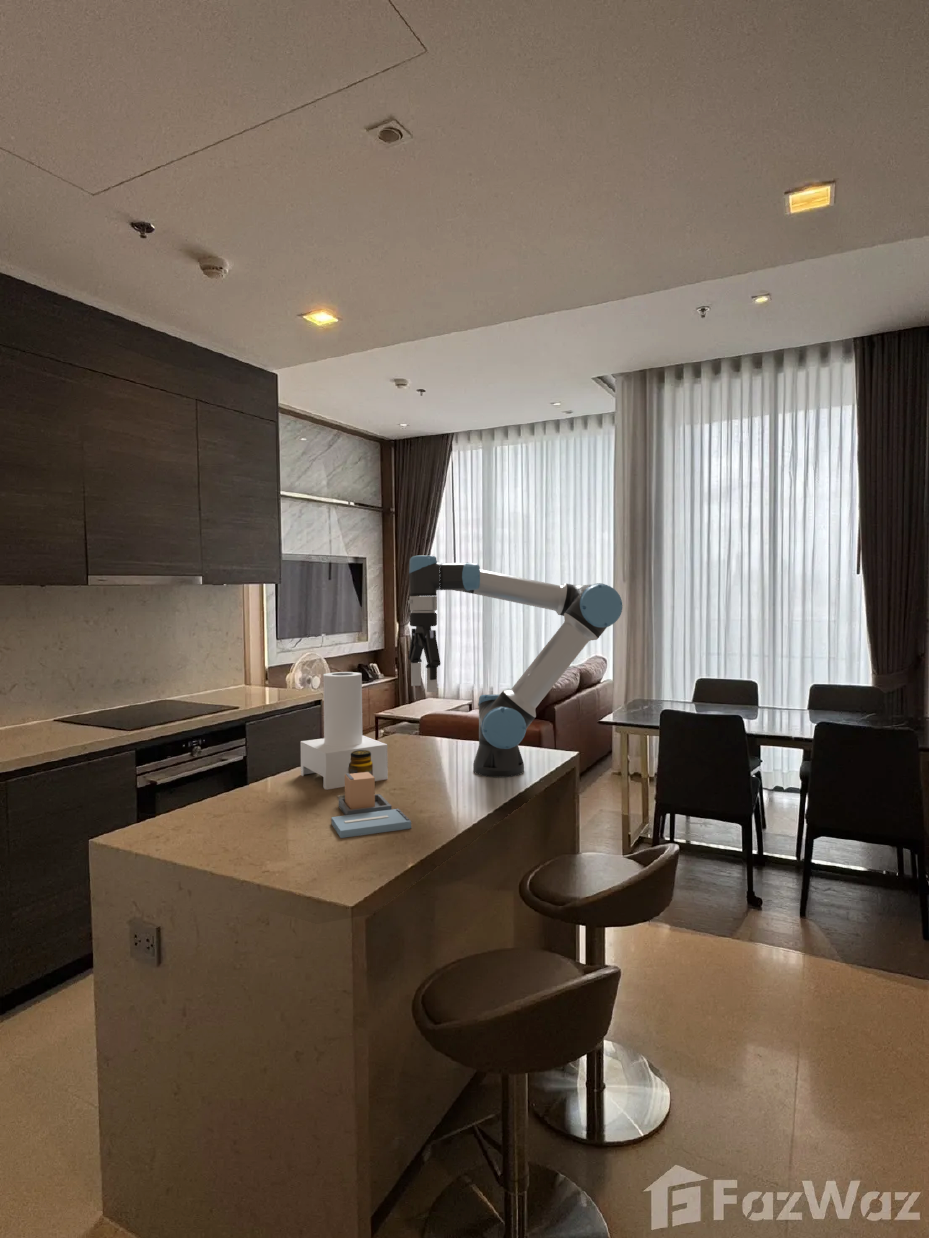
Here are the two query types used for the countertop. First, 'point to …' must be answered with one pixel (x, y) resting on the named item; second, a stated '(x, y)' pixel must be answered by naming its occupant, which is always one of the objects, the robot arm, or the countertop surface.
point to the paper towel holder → (341, 733)
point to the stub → (359, 790)
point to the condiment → (360, 763)
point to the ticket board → (370, 823)
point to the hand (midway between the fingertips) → (423, 688)
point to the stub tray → (379, 806)
